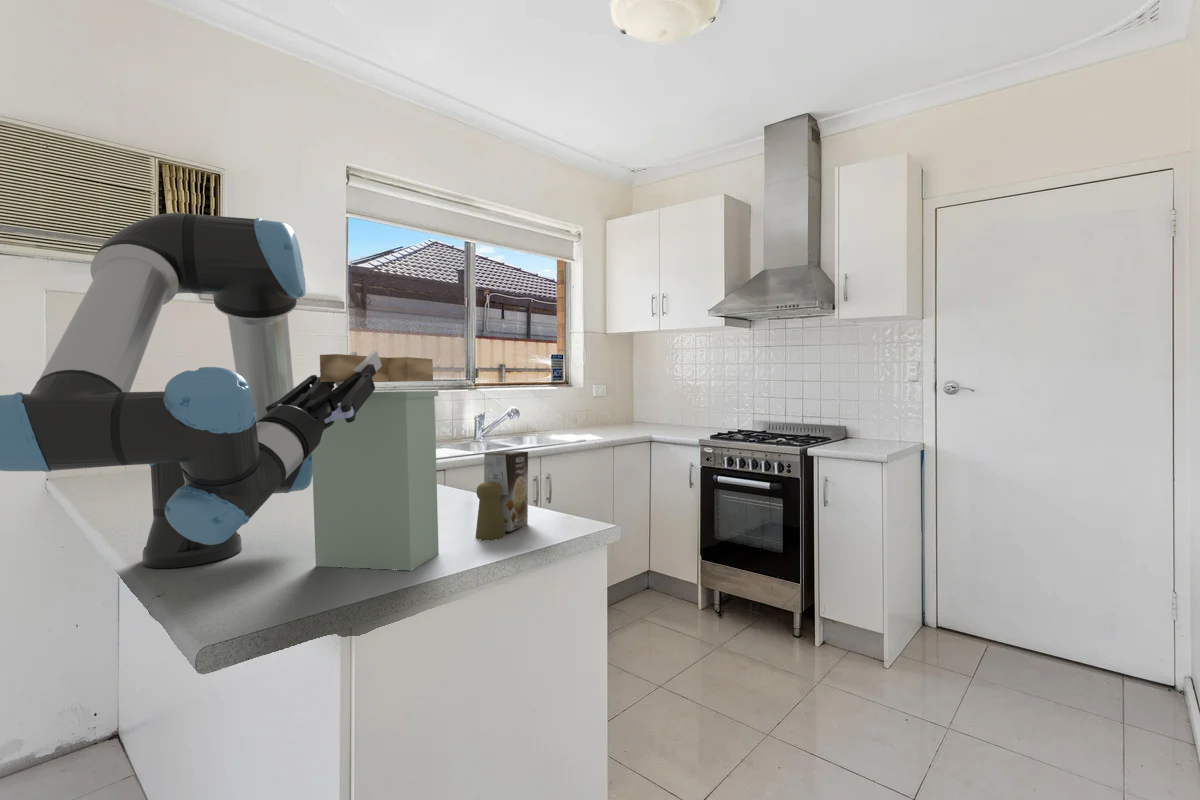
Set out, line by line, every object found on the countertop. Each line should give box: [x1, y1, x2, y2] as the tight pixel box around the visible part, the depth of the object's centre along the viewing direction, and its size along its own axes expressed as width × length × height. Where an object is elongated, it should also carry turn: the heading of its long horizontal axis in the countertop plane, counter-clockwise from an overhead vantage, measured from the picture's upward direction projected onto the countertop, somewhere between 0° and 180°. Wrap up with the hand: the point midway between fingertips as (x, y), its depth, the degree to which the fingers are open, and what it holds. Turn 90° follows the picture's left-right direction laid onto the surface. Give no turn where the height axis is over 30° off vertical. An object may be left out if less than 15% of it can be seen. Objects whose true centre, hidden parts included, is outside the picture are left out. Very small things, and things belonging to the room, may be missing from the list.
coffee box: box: [483, 450, 529, 533], centre depth 127 cm, size 9×6×16 cm
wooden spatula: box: [319, 353, 434, 383], centre depth 99 cm, size 10×22×4 cm, turn 169°
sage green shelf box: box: [312, 390, 440, 571], centre depth 105 cm, size 19×11×30 cm, turn 79°
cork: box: [475, 482, 506, 541], centre depth 120 cm, size 6×6×11 cm
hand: (366, 358), depth 97 cm, fingers closed on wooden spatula, 3 cm apart
